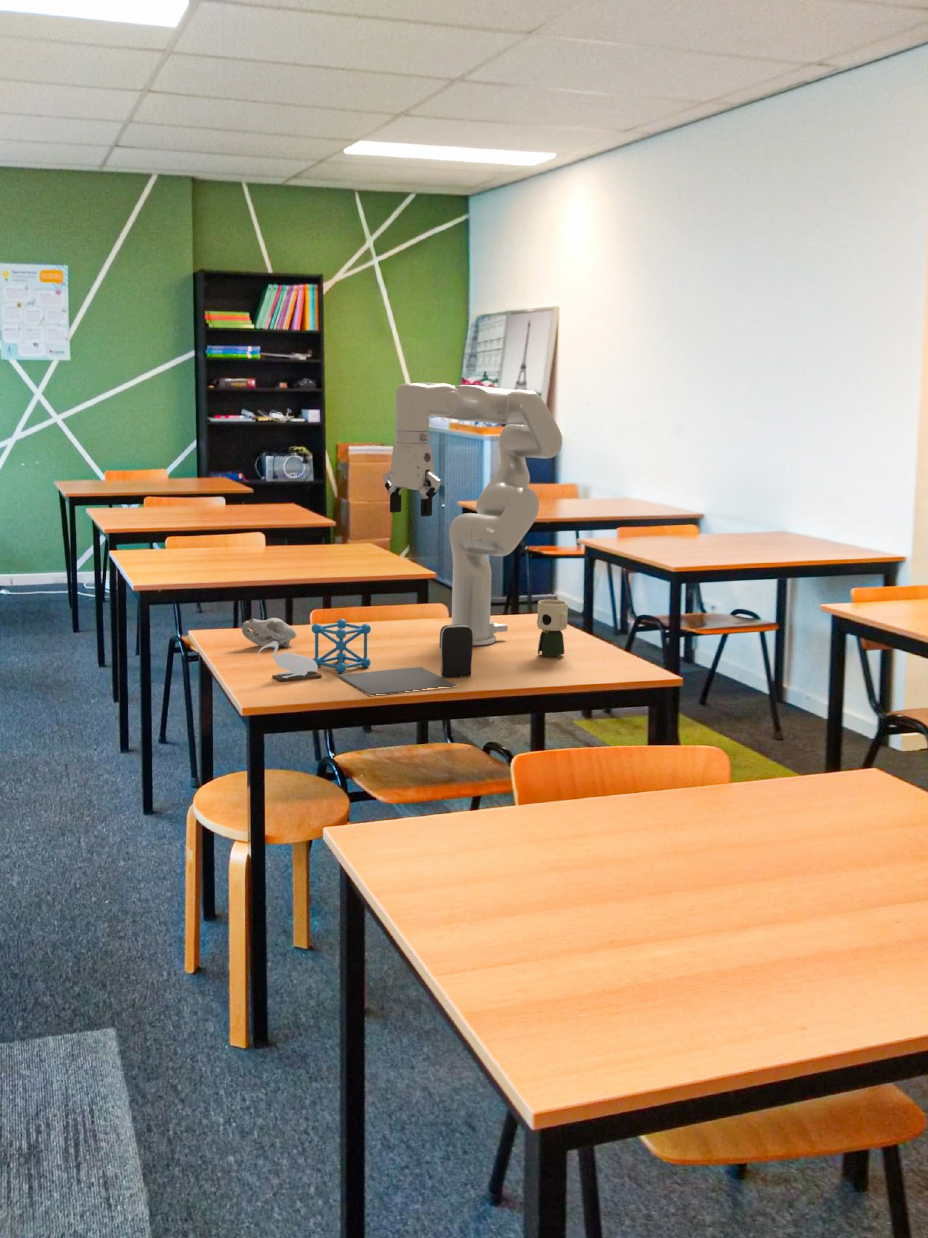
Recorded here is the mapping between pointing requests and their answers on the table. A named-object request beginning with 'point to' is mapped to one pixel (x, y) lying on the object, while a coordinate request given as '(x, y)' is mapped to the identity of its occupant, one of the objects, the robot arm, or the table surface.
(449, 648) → the battery charger
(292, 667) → the figurine
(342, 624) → the molecular structure
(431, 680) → the mat
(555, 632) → the character mug
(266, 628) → the skull
